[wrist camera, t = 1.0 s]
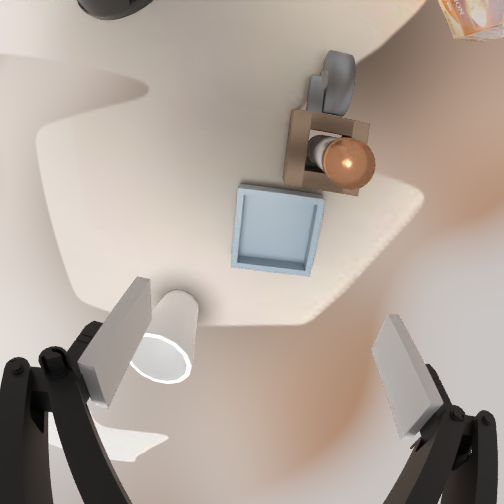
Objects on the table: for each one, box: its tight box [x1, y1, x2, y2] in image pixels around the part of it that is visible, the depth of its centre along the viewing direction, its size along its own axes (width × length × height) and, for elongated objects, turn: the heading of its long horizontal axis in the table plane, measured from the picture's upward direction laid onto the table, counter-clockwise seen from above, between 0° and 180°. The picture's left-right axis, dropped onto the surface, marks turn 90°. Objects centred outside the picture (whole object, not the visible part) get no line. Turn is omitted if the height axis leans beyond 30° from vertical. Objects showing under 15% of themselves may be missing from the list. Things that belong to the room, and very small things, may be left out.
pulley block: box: [283, 50, 370, 196], centre depth 31 cm, size 17×9×8 cm, turn 174°
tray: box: [231, 184, 325, 277], centre depth 40 cm, size 11×11×3 cm
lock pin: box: [307, 135, 375, 190], centre depth 30 cm, size 4×4×15 cm
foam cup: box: [130, 290, 199, 384], centre depth 42 cm, size 10×9×13 cm
